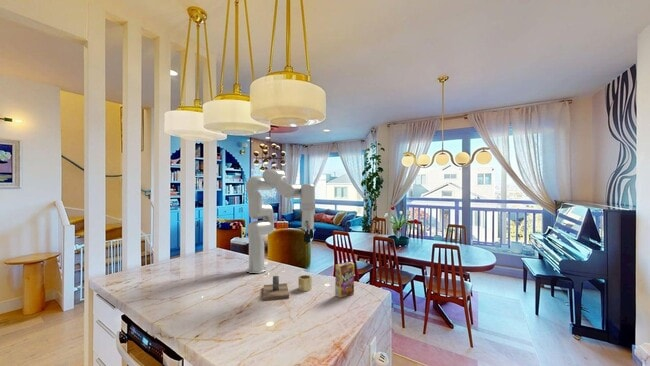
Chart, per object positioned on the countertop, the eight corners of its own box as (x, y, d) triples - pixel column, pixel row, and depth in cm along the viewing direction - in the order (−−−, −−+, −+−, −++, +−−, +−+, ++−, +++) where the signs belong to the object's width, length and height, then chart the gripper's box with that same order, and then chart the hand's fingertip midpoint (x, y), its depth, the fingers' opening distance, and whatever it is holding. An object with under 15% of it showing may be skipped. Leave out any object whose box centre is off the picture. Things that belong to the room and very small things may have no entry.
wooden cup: (297, 287, 137) (297, 275, 137) (310, 286, 139) (310, 274, 139) (299, 291, 131) (299, 279, 131) (312, 290, 132) (312, 278, 132)
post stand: (263, 287, 136) (263, 272, 136) (286, 286, 139) (286, 270, 139) (263, 300, 120) (263, 283, 121) (289, 298, 123) (289, 281, 123)
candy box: (340, 298, 123) (340, 266, 123) (334, 295, 126) (334, 263, 127) (354, 294, 127) (354, 263, 128) (349, 291, 131) (349, 261, 131)
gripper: (304, 206, 146) (305, 237, 145) (297, 208, 129) (298, 243, 128) (317, 206, 145) (318, 237, 144) (312, 208, 128) (313, 243, 127)
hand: (308, 240), depth 136 cm, fingers open, 9 cm apart
